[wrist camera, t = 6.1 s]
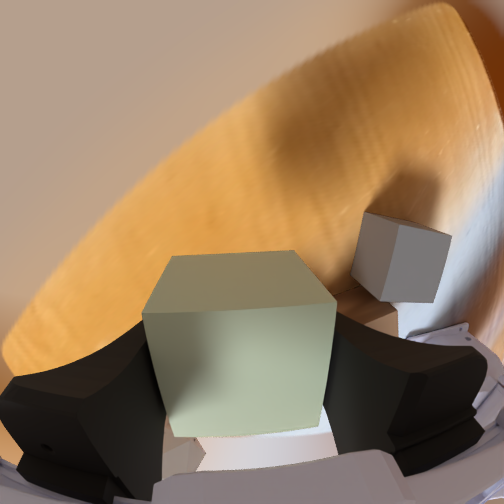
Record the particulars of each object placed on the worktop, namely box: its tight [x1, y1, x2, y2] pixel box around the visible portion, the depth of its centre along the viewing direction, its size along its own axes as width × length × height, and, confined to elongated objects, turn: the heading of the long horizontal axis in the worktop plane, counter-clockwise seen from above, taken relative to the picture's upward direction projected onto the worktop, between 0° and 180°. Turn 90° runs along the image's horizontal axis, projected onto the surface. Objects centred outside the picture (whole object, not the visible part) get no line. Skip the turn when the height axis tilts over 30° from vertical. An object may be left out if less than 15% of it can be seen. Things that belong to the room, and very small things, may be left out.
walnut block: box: [333, 286, 398, 337], centre depth 21 cm, size 5×5×5 cm
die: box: [162, 415, 206, 480], centre depth 21 cm, size 8×9×10 cm
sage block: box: [142, 250, 337, 437], centre depth 10 cm, size 5×5×5 cm
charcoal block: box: [350, 212, 452, 303], centre depth 19 cm, size 5×5×5 cm
